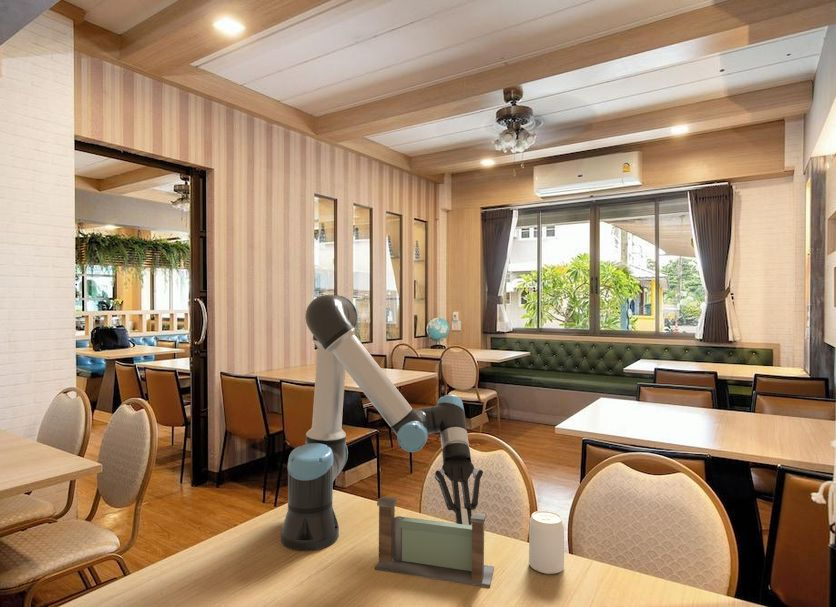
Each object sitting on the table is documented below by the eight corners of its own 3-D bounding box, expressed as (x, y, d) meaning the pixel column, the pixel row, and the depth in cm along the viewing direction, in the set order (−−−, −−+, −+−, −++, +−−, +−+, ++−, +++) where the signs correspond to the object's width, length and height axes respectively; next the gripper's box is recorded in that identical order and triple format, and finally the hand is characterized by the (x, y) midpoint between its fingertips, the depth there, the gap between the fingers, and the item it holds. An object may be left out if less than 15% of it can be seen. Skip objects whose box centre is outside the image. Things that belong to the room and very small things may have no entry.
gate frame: (383, 552, 126) (384, 494, 126) (493, 568, 119) (494, 506, 119) (372, 569, 118) (373, 506, 118) (490, 587, 111) (490, 520, 111)
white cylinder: (565, 578, 115) (565, 526, 115) (529, 574, 117) (529, 522, 116) (562, 560, 123) (563, 511, 123) (528, 556, 125) (529, 508, 124)
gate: (395, 555, 122) (396, 515, 122) (483, 568, 117) (484, 526, 117) (392, 560, 120) (393, 519, 120) (482, 574, 114) (482, 531, 114)
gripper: (476, 454, 140) (489, 542, 124) (430, 454, 139) (437, 544, 123) (481, 441, 135) (495, 531, 119) (433, 441, 134) (441, 533, 117)
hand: (466, 538), depth 121 cm, fingers closed
